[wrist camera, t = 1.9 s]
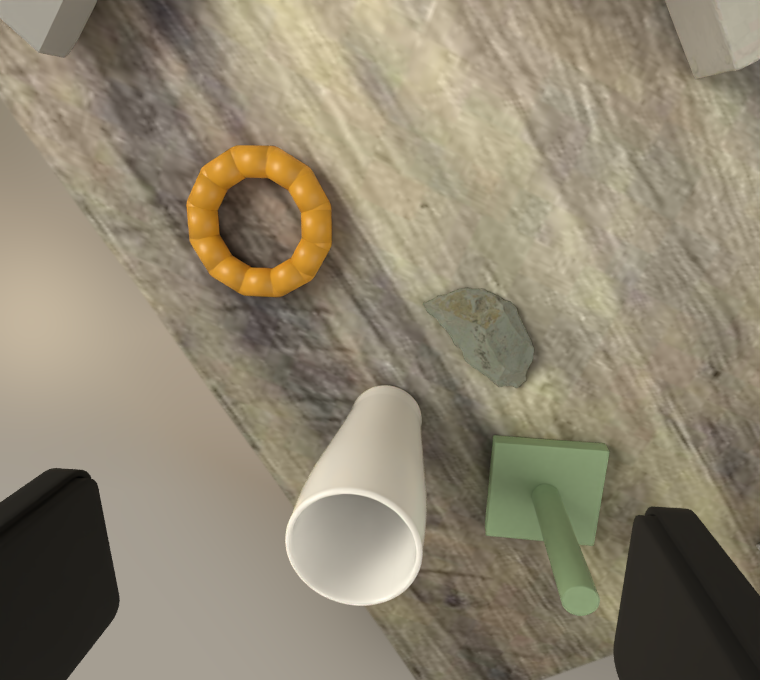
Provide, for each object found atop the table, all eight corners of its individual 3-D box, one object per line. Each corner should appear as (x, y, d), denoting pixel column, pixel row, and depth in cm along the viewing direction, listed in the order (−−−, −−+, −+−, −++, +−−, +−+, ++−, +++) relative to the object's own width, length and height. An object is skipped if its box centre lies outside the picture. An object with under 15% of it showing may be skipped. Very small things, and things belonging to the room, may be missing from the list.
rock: (501, 399, 36) (558, 356, 35) (503, 409, 34) (564, 364, 33) (419, 305, 35) (474, 258, 34) (417, 310, 33) (475, 260, 32)
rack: (493, 434, 37) (512, 532, 26) (604, 443, 36) (672, 547, 25) (484, 525, 39) (499, 649, 28) (589, 535, 38) (645, 667, 28)
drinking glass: (423, 462, 38) (411, 621, 24) (338, 445, 39) (276, 592, 24) (439, 382, 36) (436, 504, 22) (349, 366, 37) (289, 474, 22)
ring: (190, 146, 34) (175, 143, 32) (333, 147, 33) (326, 144, 31) (202, 290, 37) (189, 295, 35) (334, 296, 35) (328, 302, 34)
